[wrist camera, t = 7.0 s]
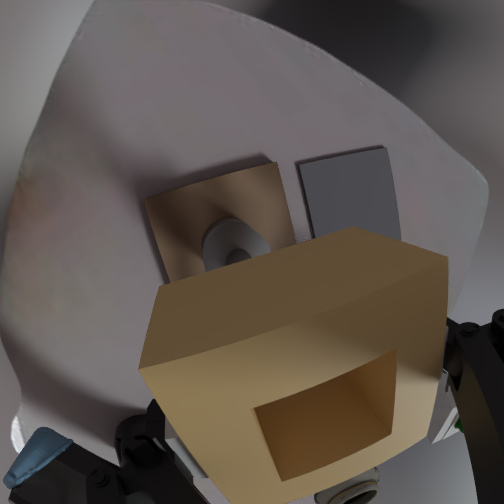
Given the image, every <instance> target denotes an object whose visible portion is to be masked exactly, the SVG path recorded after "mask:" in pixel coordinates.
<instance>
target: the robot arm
mask: <svg viewBox="0 0 504 504" xmlns="http://www.w3.org/2000/svg"><path fill="white" fill-rule="evenodd" d="M443 368H444V369H445V370H446V371H447V372H448V377H447V383H446V387H445V393H446V392H448V388H449V385H450V388H451V391H452V394H453V397H454V400H455V404H456V407H457V410H458V414H459V417H460V420H461V424H462V428H463V431H464V435H465V439H466V443H467V447H468V451H469V456H470V460H471V464H472V470H473V475H474V480H475V486H476V492H477V499H478V504H504V309H500V310H497V311H496V312H494V314H493V316H492V322H491V323H488V324H486V325H483V326H479V325H478V324H476V323H471V322H466V323H462V324H458V323H456V322H454V321H453V320H451V319H449V318H448V317H447V320H446V332H445V341H444V350H443V358H442V365H441V371H440V377H439V380H440V379H441V378H442V373H443ZM114 444H115V449H116V453H117V457H118V461H119V465H120V467H119V466H117V465H115V464H113V463H111V462H109V461H107V460H105V459H103V458H101V457H99V456H97V455H95V454H94V453H92V452H90V451H88V450H86V449H85V448H83V447H81V446H79V445H78V444H76V443H74V442H73V440H72V439H68V438H66V437H64V436H62V435H61V434H59V433H57V432H56V431H54V430H52V429H50V428H48V427H40V428H38V429H37V430H36V431H35V432H34V433H33V435H32V436H31V438H30V439H29V440H28V442H27V443H26V445H25V446H24V448H23V449H22V451H21V452H20V454H19V455H18V457H17V458H16V460H15V461H14V463H13V465H12V466H11V468H10V470H9V471H8V472H7V474H6V475H5V477H4V479H3V482H4V484H5V485H6V486H7V488H9V489H12V490H11V493H10V497H9V499H8V501H9V503H10V504H210V503H209V502H208V500H207V499H206V498H205V497H204V496H203V495H202V494H201V492H200V491H199V490H198V489H197V488H196V487H195V485H194V484H193V477H195V479H196V480H198V479H204V478H209V476H208V475H207V474H206V473H205V471H204V470H203V469H202V467H201V466H200V465H199V464H198V462H197V461H196V459H195V458H194V457H193V455H192V454H191V453H190V451H189V450H188V448H187V447H186V446H185V444H184V443H183V441H182V440H181V438H180V437H179V436H178V434H177V433H176V431H175V430H174V428H173V427H172V425H171V424H170V422H169V420H168V419H167V417H166V416H165V414H164V413H163V411H162V409H161V408H160V406H159V404H158V403H157V401H156V400H155V399H152V401H151V403H150V404H149V406H148V408H147V415H138V416H133V417H130V418H128V419H126V420H124V421H123V422H121V423H120V424H119V426H118V427H117V430H116V434H115V439H114Z"/></svg>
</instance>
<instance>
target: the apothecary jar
mask: <svg viewBox="0 0 504 504" xmlns="http://www.w3.org/2000/svg"><path fill="white" fill-rule="evenodd" d="M379 476H380V474H379V471H378V469H377V468H376V467H373V468H371V469H369V470H367V471H365V472H363V473H361V474H359V475H357V476H355V477H353V478H350V479H348V480H346V481H344V482H342V483H339V484H337V485H335V486H332V487H330V488H327V489H325V490H322V491H320V492H317V493H315V495H314V500H315V503H316V504H368V503H370V502H371V501H372V500H373V499H375V497H376V496H377V495H378V493H379V489H378V487H377V482H378V481H379Z"/></svg>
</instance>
